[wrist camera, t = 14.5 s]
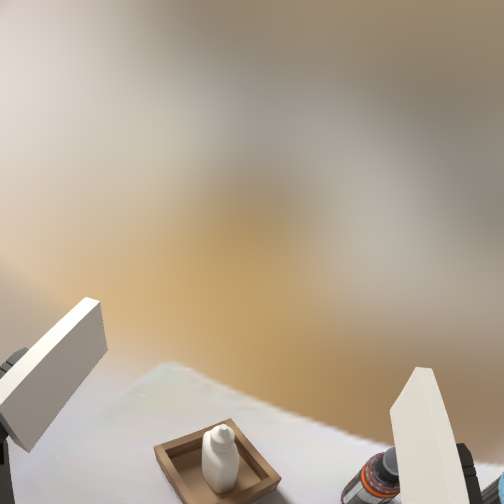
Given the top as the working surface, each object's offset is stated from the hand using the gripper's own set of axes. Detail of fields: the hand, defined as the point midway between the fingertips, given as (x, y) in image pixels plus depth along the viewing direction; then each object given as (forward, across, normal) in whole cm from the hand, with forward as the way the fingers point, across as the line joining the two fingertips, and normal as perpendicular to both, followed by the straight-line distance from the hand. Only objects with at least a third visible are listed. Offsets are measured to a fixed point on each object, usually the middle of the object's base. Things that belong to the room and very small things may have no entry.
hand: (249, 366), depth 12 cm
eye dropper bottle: (+9, -2, -30) cm, 31 cm away
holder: (+9, -2, -30) cm, 31 cm away
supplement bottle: (+8, +17, -30) cm, 36 cm away
